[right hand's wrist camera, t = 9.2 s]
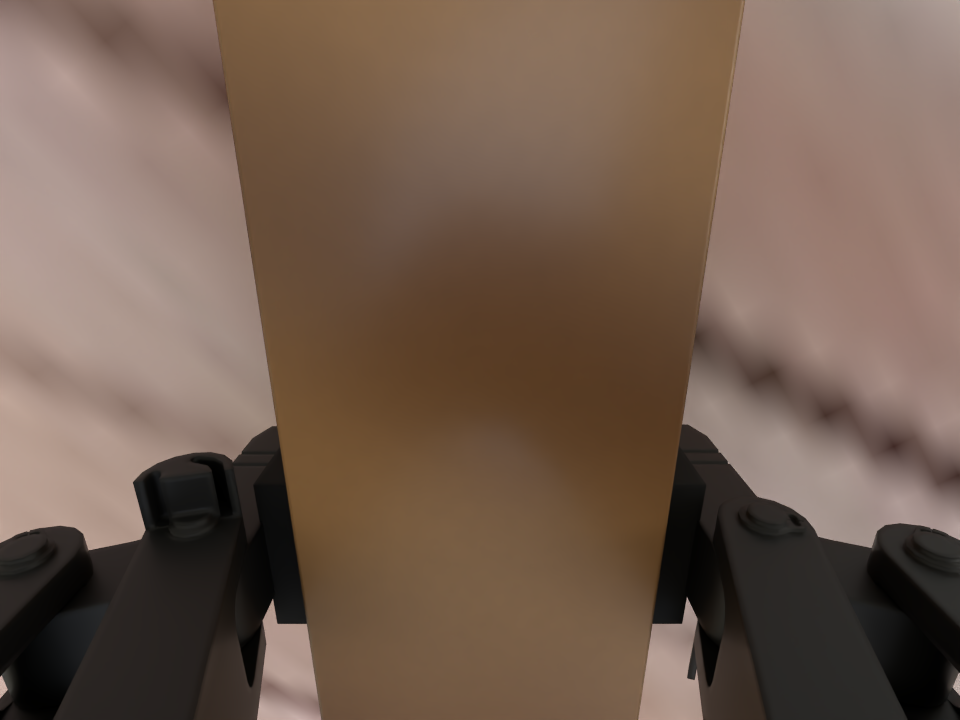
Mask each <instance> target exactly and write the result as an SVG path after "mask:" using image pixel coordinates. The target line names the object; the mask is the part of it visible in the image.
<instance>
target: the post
mask: <svg viewBox="0 0 960 720" xmlns="http://www.w3.org/2000/svg"><path fill="white" fill-rule="evenodd" d="M744 4H745V0H213V5H214V12H215V18H216V25H217V32H218V38H219V45H220V52H221V58H222V65H223V71H224V78H225V85H226V91H227V98H228V104H229V111H230V118H231V124H232V131H233V138H234V144H235V151H236V157H237V164H238V171H239V177H240V184H241V190H242V197H243V204H244V210H245V217H246V224H247V230H248V237H249V243H250V250H251V257H252V263H253V270H254V276H255V283H256V290H257V296H258V303H259V310H260V316H261V323H262V329H263V336H264V343H265V349H266V356H267V362H268V369H269V376H270V382H271V389H272V396H273V402H274V409H275V415H276V422H277V429H278V435H279V442H280V448H281V455H282V462H283V468H284V475H285V482H286V488H287V495H288V501H289V508H290V515H291V521H292V528H293V534H294V541H295V548H296V554H297V561H298V568H299V574H300V581H301V587H302V594H303V601H304V607H305V614H306V620H307V627H308V634H309V640H310V647H311V653H312V660H313V667H314V673H315V680H316V687H317V693H318V700H319V706H320V713H321V720H638V716H639V710H640V703H641V696H642V689H643V683H644V676H645V669H646V663H647V656H648V649H649V642H650V636H651V629H652V622H653V615H654V609H655V602H656V595H657V589H658V582H659V575H660V568H661V562H662V555H663V548H664V542H665V535H666V528H667V521H668V515H669V508H670V501H671V494H672V488H673V481H674V474H675V468H676V461H677V454H678V447H679V441H680V434H681V427H682V421H683V414H684V407H685V400H686V394H687V387H688V380H689V373H690V367H691V360H692V353H693V347H694V340H695V333H696V326H697V320H698V313H699V306H700V300H701V293H702V286H703V279H704V273H705V266H706V259H707V252H708V246H709V239H710V232H711V226H712V219H713V212H714V205H715V199H716V192H717V185H718V179H719V172H720V165H721V158H722V152H723V145H724V138H725V131H726V125H727V118H728V111H729V105H730V98H731V91H732V84H733V78H734V71H735V64H736V58H737V51H738V44H739V37H740V31H741V24H742V17H743V11H744Z"/></svg>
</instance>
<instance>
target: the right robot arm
mask: <svg viewBox="0 0 960 720" xmlns="http://www.w3.org/2000/svg"><path fill="white" fill-rule="evenodd" d="M133 484H134V488H135V492H136V495H137V499H138V503H139V507H140V510H141V514H142V518H143V521H144V525H145V529H146V531H145V533H144V535H143V537H142V539H141V540H137V541H133V542H129V543H124V544H119V545H114V546H109V547H104V548H99V549H94V550H89V551H88V548H87V545H86V541H85V538H84V535H83V533H81V532H80V531H79V530H77V529H76V528H73V527H65V526H55V527H47V528H39V529H34V530H30V532H24V533H21V534H18V535H15V536H14V537H12V538H10V539H8V540H6V541H4V542H2V543H0V676H1V675H2V677H3V679H4V682H5V684H6V686H7V688H8V690H7V691H6V693H5V694H4V695H3V696H2V697H1V698H0V720H257V715H258V707H259V699H260V691H261V682H262V674H263V666H264V658H265V650H266V638H265V632H264V626H263V621H262V620H263V618H264V616H265V614H266V612H267V610H268V608H269V606H270V604H271V601H272V599H273V601H274V606H275V612H276V618H277V623H278V624H307V620H306V614H305V607H304V601H303V594H302V587H301V581H300V574H299V568H298V561H297V554H296V548H295V541H294V534H293V528H292V521H291V515H290V508H289V501H288V495H287V488H286V482H285V475H284V468H283V462H282V455H281V448H280V442H279V435H278V429H277V426H272V427H270V428H269V429H267V430H265V431H264V432H262V433H260V434H259V435H257V436H256V437H254V438H253V439H252V440H251V441H250V442H249V443H248V445H247V446H246V447H245V448H244V450H243V451H242V454H241V455H239V456H238V457H237V458H236V459H235V461H234V462H232V460H231V459H229V458H228V457H227V456H225V455H222V454H217V453H212V452H205V453H191V454H186V455H182V456H177V457H174V458H171V459H168V460H165V461H163V462H160V463H157V464H156V465H154V466H152V467H151V468H149V469H147V470H146V471H144V472H142V473H141V474H140V475H139V476H138V477H137V479H136V480H135V481H134V482H133ZM687 597H688V600H689V602H690V604H691V606H692V608H693V610H694V612H695V614H696V616H697V618H698V621H697V626H696V632H695V637H694V642H693V648H692V653H691V658H690V663H689V669H688V676H687V678H688V679H693V680H695V675H696V670H697V673H698V681H699V689H700V697H701V705H702V714H703V720H960V696H959V694H958V693H957V692H956V691H955V690H954V689H953V688H952V687H953V685H954V682H955V680H956V678H957V676H958V673H960V540H958V539H956V538H954V537H951V536H949V535H948V534H946V533H944V532H942V531H939V530H936V529H933V530H932V529H930V528H929V527H924V526H917V525H909V524H901V523H900V524H892V525H885V526H884V527H882V528H881V529H880V530H878V531H877V533H876V537H875V540H874V543H873V546H872V548H868V547H863V546H858V545H853V544H848V543H843V542H838V541H833V540H828V539H824V538H821V537H818V536H817V534H816V532H815V530H814V528H813V527H812V526H811V525H810V523H809V522H808V521H807V520H806V518H804V517H803V516H801V515H800V514H798V513H797V512H796V511H794V510H793V509H791V508H789V507H787V506H784V505H782V504H780V503H777V502H775V501H771V500H767V499H763V498H759V497H757V496H756V495H755V494H754V493H753V491H752V490H751V489H750V488H749V486H748V485H747V484H746V483H745V482H744V480H743V479H742V478H741V477H740V476H739V474H738V473H737V472H736V471H735V470H734V468H733V467H732V466H731V465H730V464H728V461H727V460H726V459H725V457H724V456H723V455H722V454H721V453H718V449H717V448H716V447H715V445H714V444H713V443H712V442H711V441H710V439H709V438H708V437H707V436H706V435H704V434H702V433H701V432H699V431H697V430H696V429H694V428H692V427H691V426H689V425H682V427H681V434H680V441H679V447H678V454H677V461H676V468H675V474H674V481H673V488H672V494H671V501H670V508H669V515H668V521H667V528H666V535H665V542H664V548H663V555H662V562H661V568H660V575H659V582H658V589H657V595H656V602H655V609H654V615H653V622H652V624H682V621H683V615H684V610H685V604H686V598H687Z"/></svg>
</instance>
